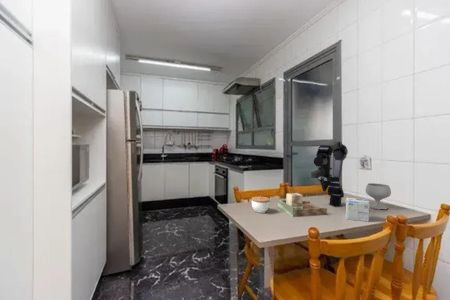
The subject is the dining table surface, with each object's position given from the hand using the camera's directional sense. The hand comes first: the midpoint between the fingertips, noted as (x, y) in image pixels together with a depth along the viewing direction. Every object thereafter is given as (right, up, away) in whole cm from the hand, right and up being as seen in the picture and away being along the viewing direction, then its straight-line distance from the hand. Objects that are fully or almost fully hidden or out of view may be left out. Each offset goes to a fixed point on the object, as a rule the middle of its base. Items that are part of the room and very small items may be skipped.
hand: (324, 191), depth 144 cm
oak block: (-19, -9, -3) cm, 21 cm away
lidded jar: (-39, -12, -4) cm, 41 cm away
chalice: (+39, -13, +11) cm, 43 cm away
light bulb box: (+12, -13, -14) cm, 22 cm away
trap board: (-14, -12, -1) cm, 19 cm away
